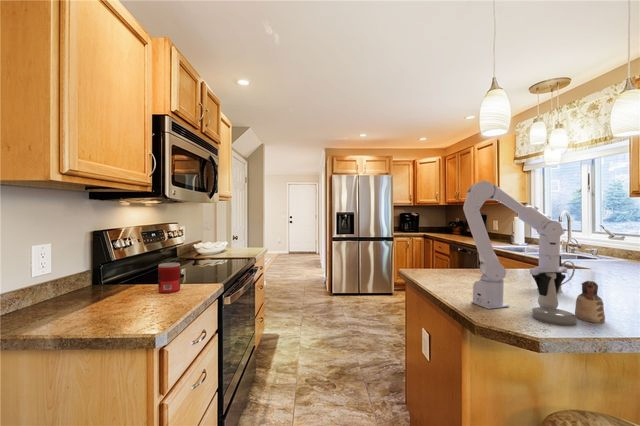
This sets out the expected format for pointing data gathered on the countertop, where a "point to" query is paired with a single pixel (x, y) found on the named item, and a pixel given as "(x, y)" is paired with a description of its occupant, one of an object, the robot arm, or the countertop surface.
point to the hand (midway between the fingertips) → (548, 294)
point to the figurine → (589, 304)
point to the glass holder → (561, 273)
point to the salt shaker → (549, 294)
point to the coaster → (554, 316)
